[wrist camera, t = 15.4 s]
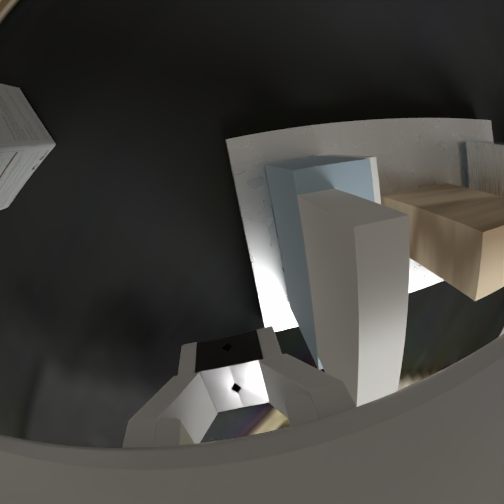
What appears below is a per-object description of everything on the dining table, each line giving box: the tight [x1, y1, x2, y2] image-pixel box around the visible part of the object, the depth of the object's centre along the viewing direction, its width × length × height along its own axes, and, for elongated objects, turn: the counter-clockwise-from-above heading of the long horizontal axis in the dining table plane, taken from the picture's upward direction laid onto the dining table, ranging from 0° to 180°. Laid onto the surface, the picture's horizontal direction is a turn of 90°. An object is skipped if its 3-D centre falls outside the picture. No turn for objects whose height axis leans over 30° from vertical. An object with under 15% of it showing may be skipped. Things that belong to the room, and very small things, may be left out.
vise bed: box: [225, 118, 504, 332], centre depth 18 cm, size 14×24×9 cm, turn 101°
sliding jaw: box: [265, 154, 410, 407], centre depth 14 cm, size 10×4×12 cm, turn 11°
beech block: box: [380, 183, 504, 301], centre depth 16 cm, size 4×7×10 cm, turn 102°
